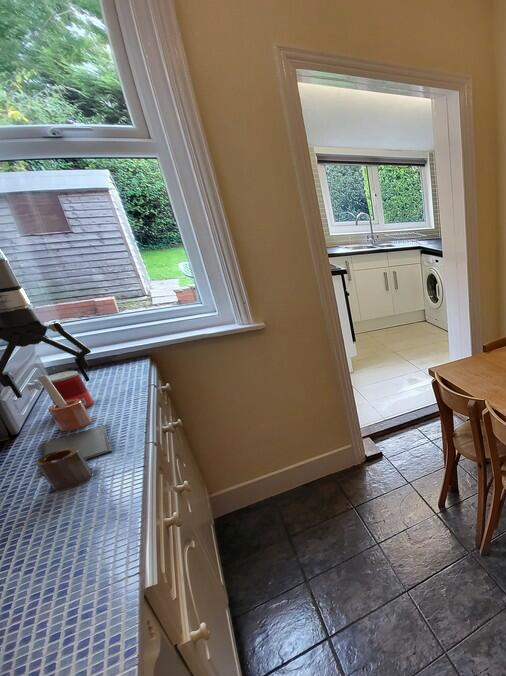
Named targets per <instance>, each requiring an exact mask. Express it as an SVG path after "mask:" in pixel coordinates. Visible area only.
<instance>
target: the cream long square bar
mask: <svg viewBox="0 0 506 676" xmlns="http://www.w3.org/2000/svg"><path fill="white" fill-rule="evenodd" d="M47 376H48V375H47V374H45V375H42V376H39V377H37V380H38V381H39V383H40V384H41V386H42V387H43V388H44V389H45V391H46V393H47V392H48V393H47V394H48V396H49V395H50V396H49V398H50V397H51V398H52V399H53V401H54V402H55V404H56V405H57V406H58V408H61V407H65V406H68V405H67V404H66V402H65V401H64V399H63V398H62V396H61V395H60V394H59V392H58V391H57V389H56V388H55V387H54V385H53V384H52V382H51V381H50V379H49V378H48V377H47ZM51 398H50V399H51ZM52 399H51V400H52ZM53 401H52V402H53Z"/></svg>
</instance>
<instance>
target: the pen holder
mask: <svg viewBox="0 0 506 676" xmlns="http://www.w3.org/2000/svg"><path fill="white" fill-rule="evenodd" d="M65 402H66V404H67V405H68V406H65V407H61V408H58V406H57V405H56V404H54V403H53V404H52V405H50V406H49V407H47V410H48V412H49V413H50V416H51V417H52V419H53V421H54V422H55V424H56V426H57V427H58V429H59V430H60V431H61V432H70V431H74V430H78V429H81V428H83V427H86V426H88V425H90V424H91V423H92V421H93V420H92V418H91V416H90V414H89V412H88V411H87V408H85V407H84V405H83V403H82V402H81V400H80V399H73V400H67V401H65Z"/></svg>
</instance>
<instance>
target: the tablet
mask: <svg viewBox="0 0 506 676" xmlns="http://www.w3.org/2000/svg"><path fill="white" fill-rule="evenodd" d="M109 439H110V438H109V436H108V432H107V429H106V425H105V424H102V425H100V426H96V427H92V428H89V429H86V430H82V431H79V432H76V433H73V434H69V435H66V436H62V437H59V438H56V439H53V440H50V441H46V442H43V443H41V458H42V457H43V456H45V455H47V454H49V453H51V452H55V451H57V450H61V449H65V448H71V447H75V448H78V449H79V451H80V453H81V454H82V456H83V458H84V459H85V461H86V462H87V461H90V460H93V459H97V458H98V457H103V456H105V455H108V454H111V453H113V450H112V446H111V442H110V440H109ZM40 472H41V471H40ZM41 476H42V477H44V475H43V473H42V472H41Z"/></svg>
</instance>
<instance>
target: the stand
mask: <svg viewBox="0 0 506 676" xmlns="http://www.w3.org/2000/svg"><path fill="white" fill-rule="evenodd" d="M35 464H36V465H37V467H38V469H39V470H40V472H42V473H43V477H44V478H45V479H46V481H47V483H49V486H50V487H51V489H52V490H54V491H63V490H67V489H71V488H73V487H76V486H79V485H81V484H84V482H86V481H88V480H89V479H91V478H92V477H93V475H94V473H93V472H92V470H91V468H90V466H89V464H88V463H87V461H85V459H84V458H83V456H82V454H81V453H80V451H79V449H78V448H75V447H71V448H65V449H61V450H57V451H55V452H51V453H49V454H47V455H45V456H43V457H42V456H41V457H40V458H38V459H37V460H36V462H35Z"/></svg>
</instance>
